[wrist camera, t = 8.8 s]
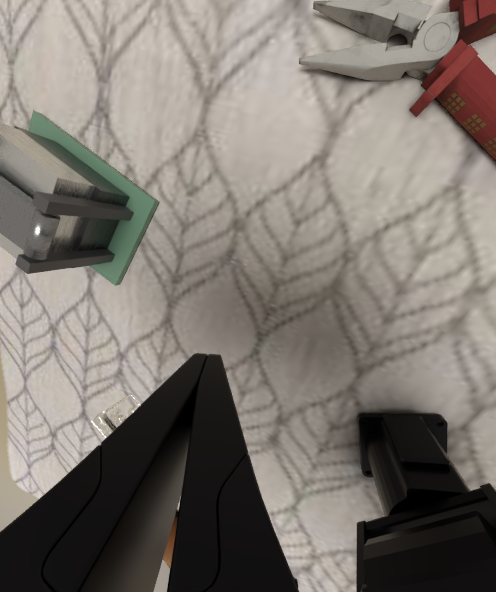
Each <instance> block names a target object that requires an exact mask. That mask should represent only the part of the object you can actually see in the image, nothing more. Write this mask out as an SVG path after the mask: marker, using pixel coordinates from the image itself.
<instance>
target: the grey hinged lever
mask: <svg viewBox="0 0 496 592" xmlns="http://www.w3.org/2000/svg"><path fill="white" fill-rule="evenodd" d="M32 202H33V199H32V198H31V197H29V196H28V195H26V194H25V193H24V192H22V191H21V190H20V189H18V188H17V187H16V186H14V185H13V184H11V183H10V182H9V181H7V180H6V179H5V178H3V177H2V176H1V175H0V233H1V234H2V235H3V236H5V237H6V238H7V239H9V240H10V241H11V242H13V243H14V244H16V245H17V246H18V247H20V248H21V249H22V250H24V251H23V253H24V254H25V255H26V256H27V257H29V258H32V259H36V260H45V259H47V258H48V255H49V252H50V249H51V246H52V243H53V240H54V237H55V234H56V231H57V228H58V225H59V222H60V216H59V215H53V214H45V213H44V212H42V211H41V210H40V209H38V208H37V207H36V206H34V205H33V204H32Z"/></svg>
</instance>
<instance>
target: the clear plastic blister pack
mask: <svg viewBox="0 0 496 592" xmlns="http://www.w3.org/2000/svg"><path fill="white" fill-rule="evenodd" d="M130 396H131V397H132V398H133V399H134V401H135V402H136V403H137V404H138V405H139V406H140V404H139V403H138V402H137V400H136V399H135V398H134V397H133V396H132V394H129V395H128V396H126V397H125V398H123V399H122V400H120V401H119V402H117V403H116V404H114V405H113V406H111V407H110V408H108V409H107V410H105V411H104V412H103V413H101V414H100V415H98V416H97V417H96V418H95V419H94V420H92V421H91V422H92V424H93V425H94V426H95V427H96V428H97V429H98V430H99V432H100V433H101V434H102V435H103V436H104V437H105V439H106V438H107V437H108V436H109V435H110V434H111V433H112V432H113V431H114V430H115V428H114V427H113V425H112V424H111V423H110V422H109V420H108V418H107V416H106V412H107V411H109V410H110V409H112V408H113V407H115V406H116V405H118V404H119V403H121V402H122V401H124V400H125V399H127V398H128V397H130ZM137 408H138V407H136V406H132V407H131V408H130V409H129V411H128V414H129V416H130V415H131V414H132V413H133V412H134V411H135V410H136V409H137ZM120 411H121V410H120V409H119V408H117V409H116V410H114V411H113V412H112V413H111V417H112V418H113V420H114V421H115V422H116V423H117V424H118V426H119V425H120V424H121V423H122V422H123V420H125V419H127V417H126V416H125V415H124V414H122V415H120V416H119V415H118V412H120Z"/></svg>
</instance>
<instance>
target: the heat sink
mask: <svg viewBox="0 0 496 592" xmlns="http://www.w3.org/2000/svg"><path fill="white" fill-rule="evenodd" d="M0 175H1V176H2V177H3V178H5V179H6V180H7V181H9V182H10V183H11V184H13V185H14V186H16V187H17V188H18V189H20V190H21V191H22V192H24V193H25V194H26V195H28V196H29V197H31V198H32V199H34V195H35V191H37V192H43V193H50V194H56V195H62V196H68V197H74V198H81V199H87V200H93V201H96V202H102V203H108V204H114V205H120V206H126V205H127V202H128V200H129V198H130V197H129V196H128V195H127V194H125V193H124V192H123V191H121V190H120V189H119V188H117V187H116V186H115V185H113V184H112V183H111V182H109V181H108V180H107V179H105V178H104V177H103V176H101V175H100V174H99V173H97V172H96V171H95V170H93V169H92V168H91V167H89V166H88V165H87V164H85V163H84V162H83V161H81V160H80V159H79V158H77V157H76V156H75V155H73V154H72V153H71V152H69V151H68V150H67V149H66V148H64V147H63V146H62V145H60V144H59V143H58V142H56V141H53V140H51V139H48V138H45V137H43V136H40V135H37V134H35V133H32V132H29V131H27V130H24V129H21V128H19V127H16V126H15V128H13V127H11V126H8V125H5V124H3V123H0ZM59 216H60V222H59V225H58V228H57V231H56V234H55V237H54V240H53V243H52V246H51V249H50V252H60V251H75V250H77V251H86V250H99V249H108V247H109V245H110V242H111V240H112V238H113V235H114V233H115V231H116V228H117V226H118V223H119V221H120V220H115V219H103V218H90V217H78V216H65V215H59ZM0 246H1V247H2V248H3V249H4V250H6V251H7V252H8V253H10V254H11V255H12V256H13V257H15V258H16V259H17V257H18V254H24V253H23V251H24V250H22V249H21V248H20V247H18V246H17V245H16V244H14V243H13V242H11V241H10V240H9V239H7V238H6V237H5V236H3V235H2V234H1V233H0ZM100 264H101V263H100ZM93 265H96V264H93ZM86 266H89V265H86ZM79 267H82V266H79ZM72 268H76V267H72Z"/></svg>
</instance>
